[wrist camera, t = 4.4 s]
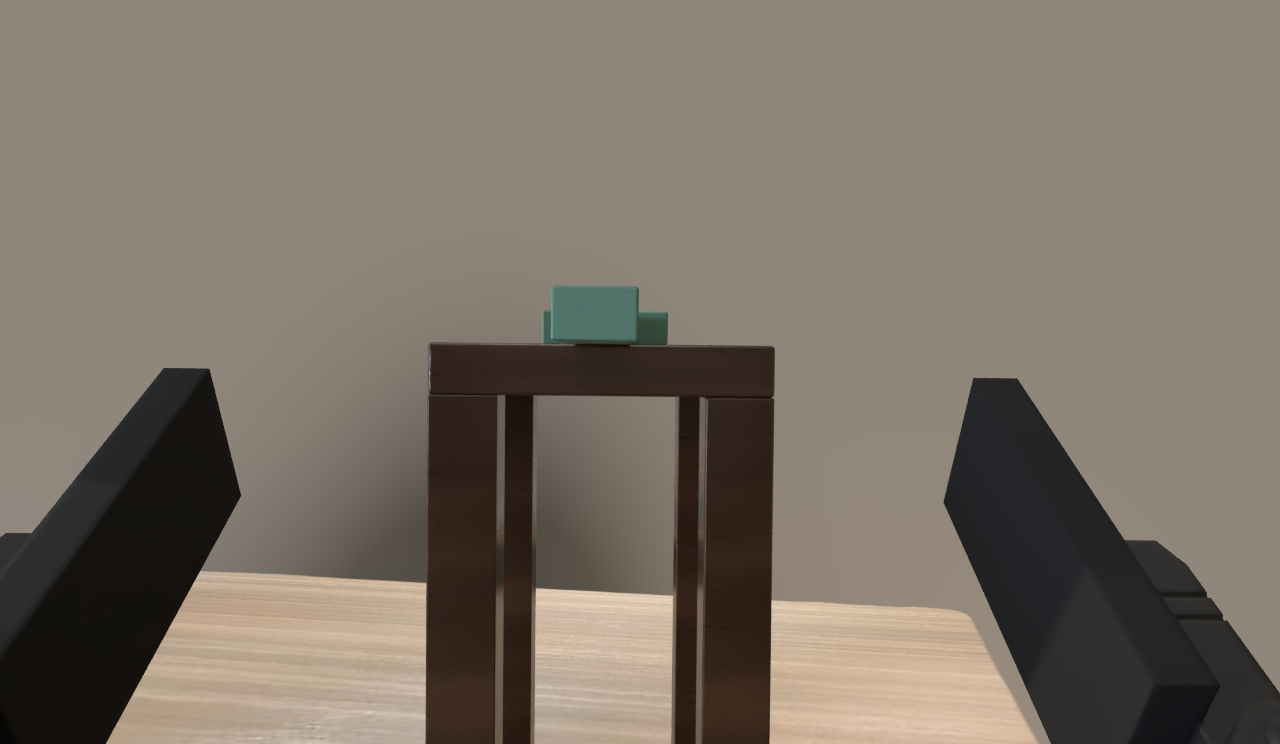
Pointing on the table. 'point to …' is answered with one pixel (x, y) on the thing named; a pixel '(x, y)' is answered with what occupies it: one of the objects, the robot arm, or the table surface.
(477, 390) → the plant stand
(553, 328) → the fork
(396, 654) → the table surface
